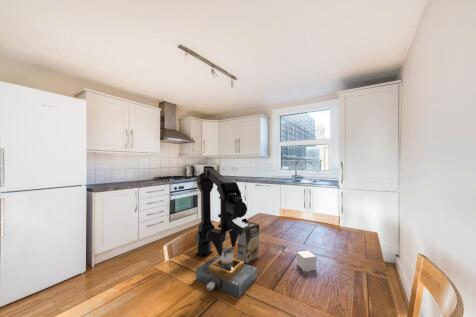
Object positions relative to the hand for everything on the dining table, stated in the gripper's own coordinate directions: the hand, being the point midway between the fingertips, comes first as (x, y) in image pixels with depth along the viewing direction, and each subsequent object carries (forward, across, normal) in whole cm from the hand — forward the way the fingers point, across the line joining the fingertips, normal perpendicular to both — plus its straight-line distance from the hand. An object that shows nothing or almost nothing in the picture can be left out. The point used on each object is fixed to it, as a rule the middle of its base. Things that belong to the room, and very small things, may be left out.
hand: (227, 251), depth 79 cm
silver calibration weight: (+7, 0, 0) cm, 7 cm away
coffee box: (+11, +20, +1) cm, 23 cm away
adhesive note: (+11, +26, -25) cm, 38 cm away
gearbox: (+11, -2, 0) cm, 11 cm away
